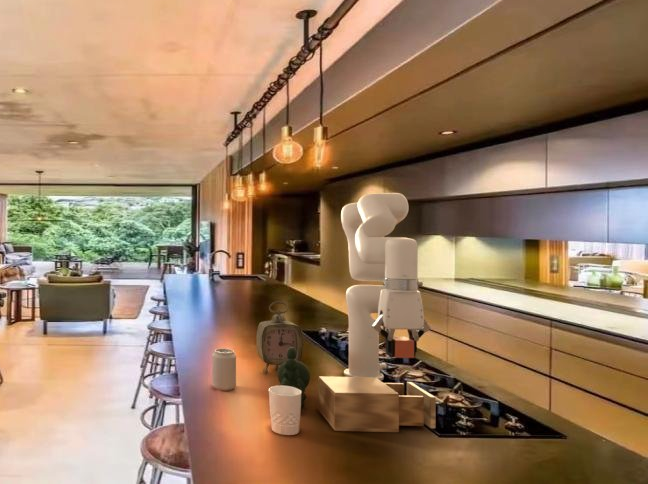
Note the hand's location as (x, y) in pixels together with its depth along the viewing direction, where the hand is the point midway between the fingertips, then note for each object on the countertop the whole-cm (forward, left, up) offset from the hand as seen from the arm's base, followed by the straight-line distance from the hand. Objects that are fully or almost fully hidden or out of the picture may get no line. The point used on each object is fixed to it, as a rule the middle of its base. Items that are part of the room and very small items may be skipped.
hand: (400, 354), depth 125 cm
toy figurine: (+14, -24, -18) cm, 33 cm away
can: (+24, -44, -18) cm, 53 cm away
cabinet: (+9, -6, -18) cm, 21 cm away
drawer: (-1, 0, -17) cm, 17 cm away
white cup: (+30, -10, -18) cm, 37 cm away
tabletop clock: (-4, -50, -18) cm, 53 cm away
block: (0, 0, 0) cm, 0 cm away
